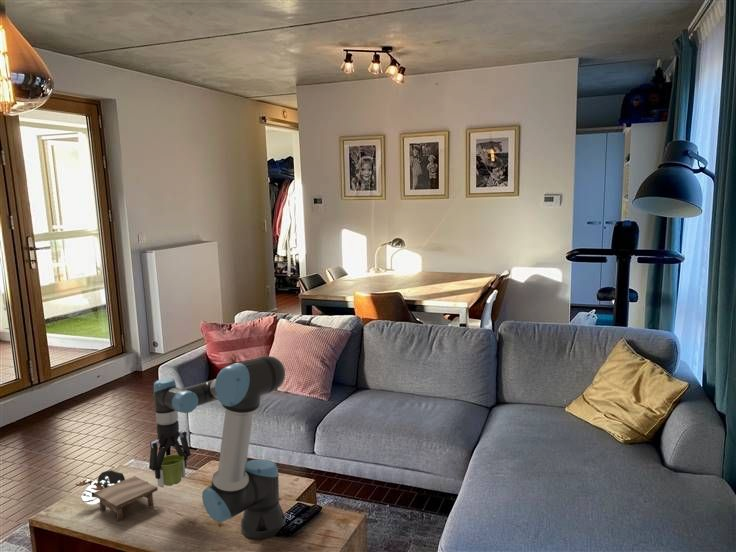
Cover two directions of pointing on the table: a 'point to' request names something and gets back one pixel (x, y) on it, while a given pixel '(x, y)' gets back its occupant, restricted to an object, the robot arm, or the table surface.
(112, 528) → the table surface
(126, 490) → the footstool
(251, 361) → the robot arm
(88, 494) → the figurine
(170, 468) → the plant pot
